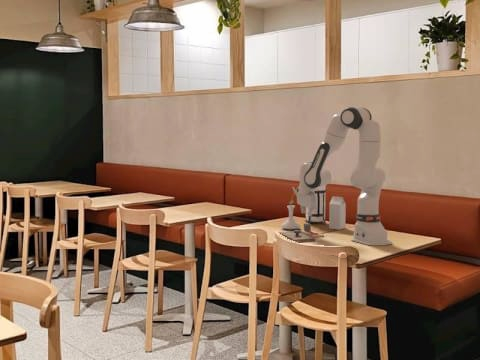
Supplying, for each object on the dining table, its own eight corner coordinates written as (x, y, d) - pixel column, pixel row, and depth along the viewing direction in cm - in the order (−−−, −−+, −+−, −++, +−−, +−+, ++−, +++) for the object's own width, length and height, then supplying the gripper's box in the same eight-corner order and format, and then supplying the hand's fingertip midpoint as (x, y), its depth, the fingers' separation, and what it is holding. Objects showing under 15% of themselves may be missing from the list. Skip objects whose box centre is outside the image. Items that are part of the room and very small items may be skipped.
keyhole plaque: (323, 236, 328) (324, 227, 328) (312, 237, 326) (312, 228, 326) (311, 231, 344) (311, 222, 344) (300, 232, 342) (300, 223, 342)
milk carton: (339, 230, 349) (340, 197, 347) (329, 228, 353) (329, 197, 351) (345, 228, 354) (345, 196, 352) (334, 227, 359) (335, 195, 357)
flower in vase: (295, 231, 345) (296, 188, 343) (278, 229, 351) (278, 187, 348) (304, 227, 356) (304, 186, 354) (287, 226, 362) (287, 185, 360)
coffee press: (297, 223, 373) (297, 175, 370) (314, 220, 384) (314, 173, 381) (318, 226, 361) (319, 177, 358) (335, 223, 371) (335, 175, 368)
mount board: (314, 241, 317) (314, 233, 316) (293, 242, 313) (294, 234, 313) (298, 233, 338) (298, 226, 337) (279, 235, 334) (279, 227, 334)
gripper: (319, 192, 330) (319, 217, 332) (305, 188, 350) (304, 211, 351) (309, 193, 328) (308, 217, 330) (295, 188, 348) (294, 211, 349)
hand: (306, 214), depth 341 cm, fingers open, 8 cm apart
